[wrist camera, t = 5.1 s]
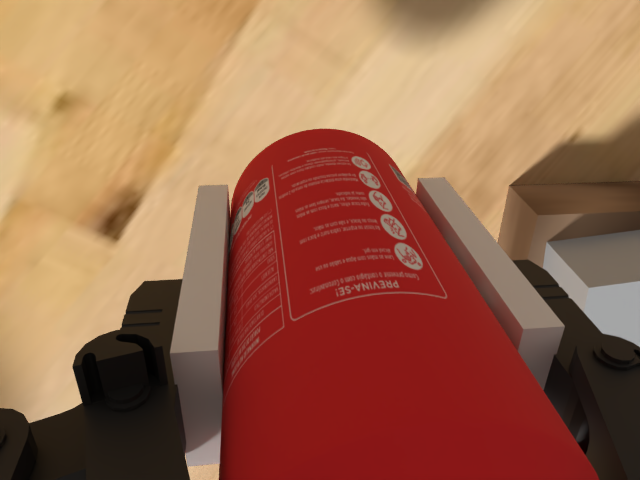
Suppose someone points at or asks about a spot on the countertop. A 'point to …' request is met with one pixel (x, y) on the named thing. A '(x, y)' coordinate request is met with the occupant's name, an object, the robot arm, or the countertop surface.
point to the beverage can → (367, 335)
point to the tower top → (601, 279)
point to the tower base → (565, 215)
